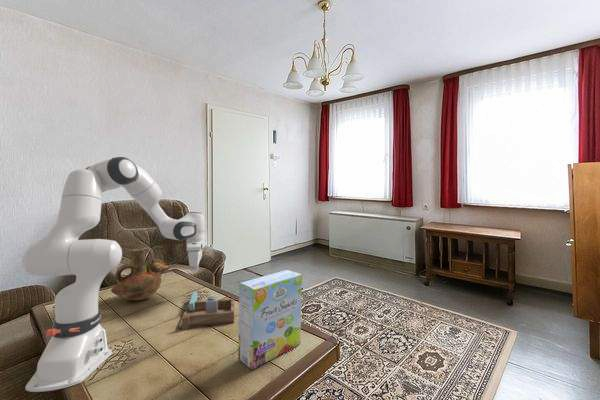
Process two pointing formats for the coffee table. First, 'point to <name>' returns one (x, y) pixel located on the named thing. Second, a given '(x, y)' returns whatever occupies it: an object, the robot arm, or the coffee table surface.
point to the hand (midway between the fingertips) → (196, 270)
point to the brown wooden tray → (207, 314)
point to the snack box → (269, 317)
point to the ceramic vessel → (139, 277)
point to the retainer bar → (192, 301)
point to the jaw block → (212, 304)
